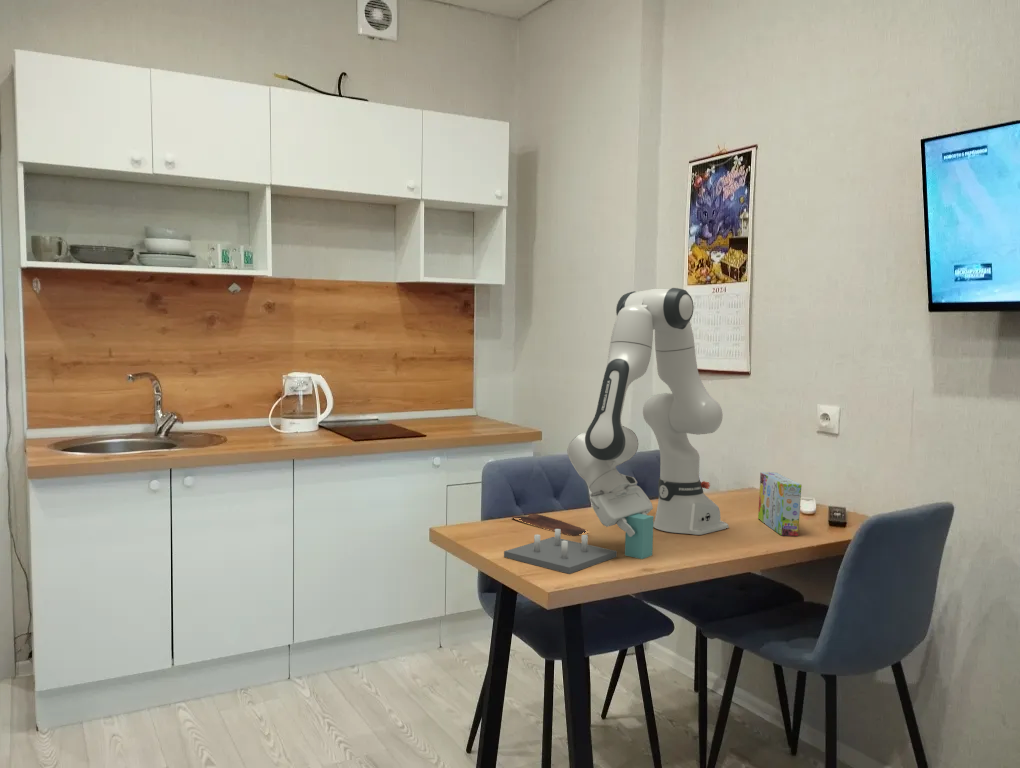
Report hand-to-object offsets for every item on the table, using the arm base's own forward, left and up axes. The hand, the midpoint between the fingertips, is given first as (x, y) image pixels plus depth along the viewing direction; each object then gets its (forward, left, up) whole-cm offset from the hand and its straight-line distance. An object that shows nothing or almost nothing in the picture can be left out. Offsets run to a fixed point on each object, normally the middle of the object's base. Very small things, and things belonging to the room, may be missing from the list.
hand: (641, 532), depth 199 cm
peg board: (+19, -8, -6) cm, 21 cm away
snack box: (-57, -7, -6) cm, 57 cm away
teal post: (0, -1, -6) cm, 6 cm away
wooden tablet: (+3, -37, -7) cm, 38 cm away
